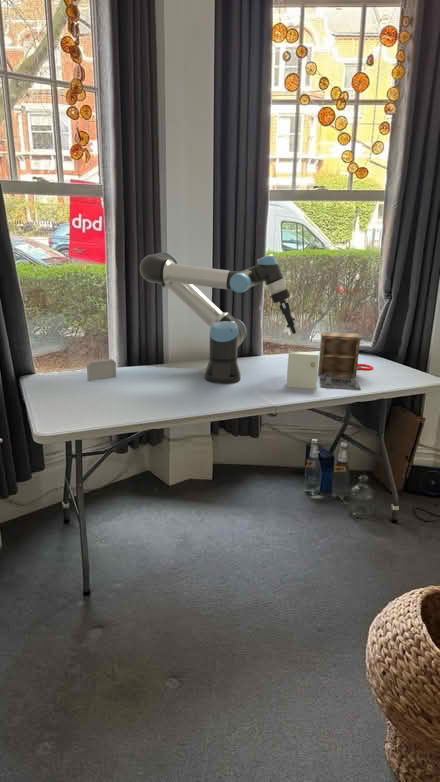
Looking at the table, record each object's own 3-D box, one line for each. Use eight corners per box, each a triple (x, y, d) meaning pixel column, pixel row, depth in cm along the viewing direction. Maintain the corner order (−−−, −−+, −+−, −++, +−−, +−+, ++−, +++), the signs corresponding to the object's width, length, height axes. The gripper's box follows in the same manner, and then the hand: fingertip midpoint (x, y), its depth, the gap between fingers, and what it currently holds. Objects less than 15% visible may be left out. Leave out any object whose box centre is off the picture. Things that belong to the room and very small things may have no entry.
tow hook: (369, 366, 270) (350, 365, 269) (373, 339, 266) (354, 338, 265) (375, 371, 262) (355, 370, 261) (380, 344, 258) (360, 343, 257)
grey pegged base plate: (320, 387, 234) (321, 377, 233) (319, 380, 244) (320, 371, 242) (360, 389, 232) (361, 380, 231) (357, 382, 242) (358, 373, 241)
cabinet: (318, 375, 250) (322, 335, 245) (318, 370, 258) (321, 331, 252) (355, 378, 249) (360, 337, 243) (354, 373, 256) (358, 333, 250)
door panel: (286, 387, 233) (288, 354, 228) (286, 383, 238) (288, 351, 233) (316, 389, 232) (318, 355, 227) (315, 385, 236) (318, 352, 232)
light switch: (116, 377, 239) (115, 359, 236) (89, 381, 232) (88, 362, 230) (114, 376, 240) (114, 358, 238) (87, 380, 234) (86, 361, 231)
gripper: (287, 289, 225) (306, 339, 229) (286, 286, 249) (303, 330, 253) (269, 296, 226) (289, 346, 230) (270, 292, 251) (287, 337, 254)
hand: (296, 338), depth 242 cm, fingers open, 13 cm apart
